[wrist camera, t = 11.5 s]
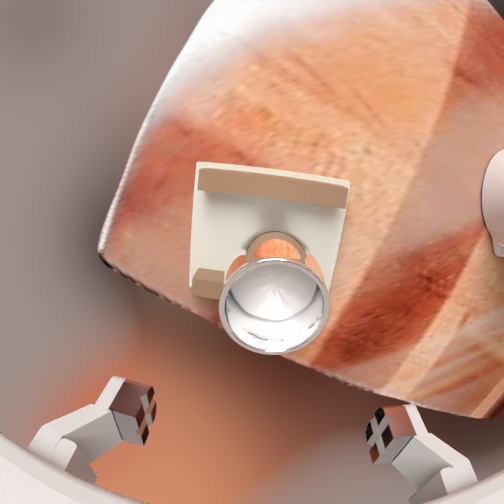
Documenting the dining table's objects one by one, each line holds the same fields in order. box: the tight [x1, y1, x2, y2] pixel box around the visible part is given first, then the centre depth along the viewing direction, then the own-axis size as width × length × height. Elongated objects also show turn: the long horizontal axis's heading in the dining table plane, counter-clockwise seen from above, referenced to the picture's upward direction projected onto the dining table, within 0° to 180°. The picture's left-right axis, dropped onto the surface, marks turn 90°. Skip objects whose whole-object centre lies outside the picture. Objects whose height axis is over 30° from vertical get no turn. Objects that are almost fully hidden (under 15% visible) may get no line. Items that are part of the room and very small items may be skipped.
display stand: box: [189, 162, 351, 300], centre depth 30 cm, size 16×14×6 cm
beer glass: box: [219, 211, 330, 355], centre depth 24 cm, size 7×7×15 cm
